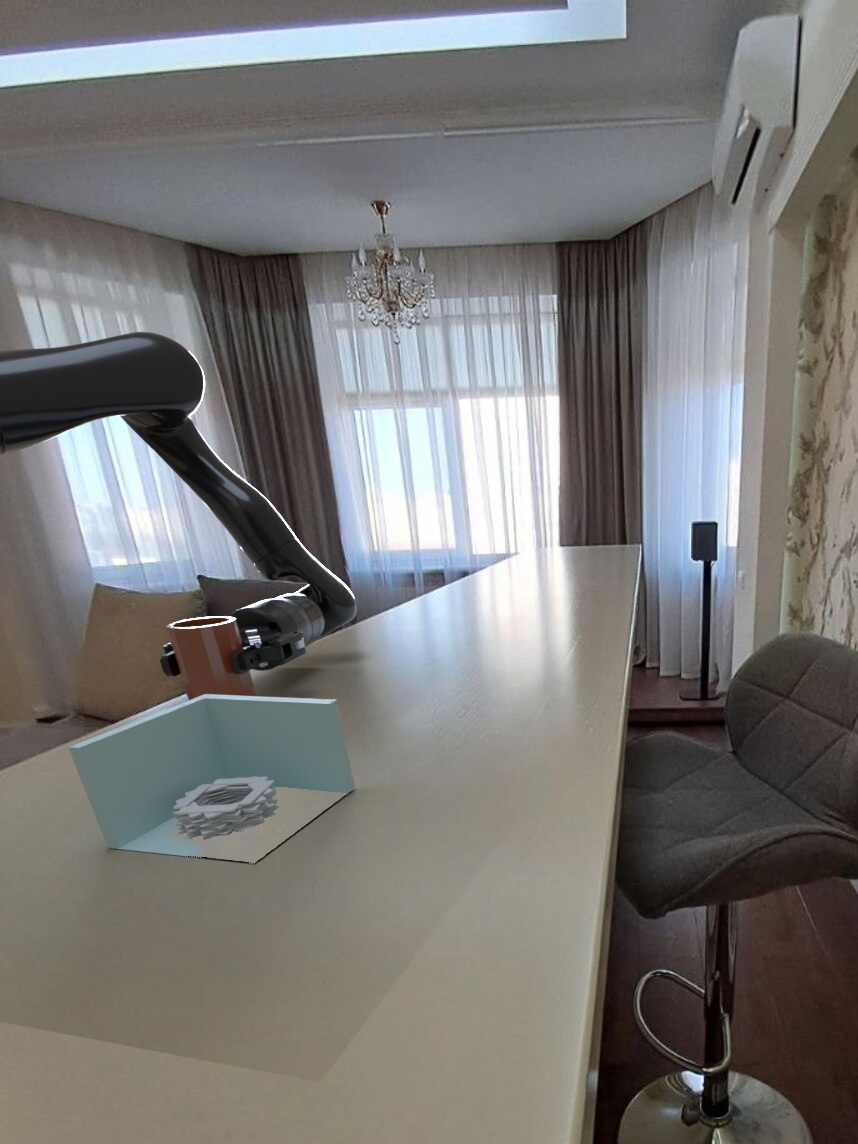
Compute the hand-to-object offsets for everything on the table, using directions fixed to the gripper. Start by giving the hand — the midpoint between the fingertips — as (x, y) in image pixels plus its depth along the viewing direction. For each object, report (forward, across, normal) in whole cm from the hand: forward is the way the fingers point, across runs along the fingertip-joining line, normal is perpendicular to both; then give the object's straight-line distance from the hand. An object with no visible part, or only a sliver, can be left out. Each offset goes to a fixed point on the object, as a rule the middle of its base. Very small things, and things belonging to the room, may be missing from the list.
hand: (201, 665), depth 70 cm
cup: (-2, 0, +6) cm, 6 cm away
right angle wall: (+24, +14, +6) cm, 28 cm away
